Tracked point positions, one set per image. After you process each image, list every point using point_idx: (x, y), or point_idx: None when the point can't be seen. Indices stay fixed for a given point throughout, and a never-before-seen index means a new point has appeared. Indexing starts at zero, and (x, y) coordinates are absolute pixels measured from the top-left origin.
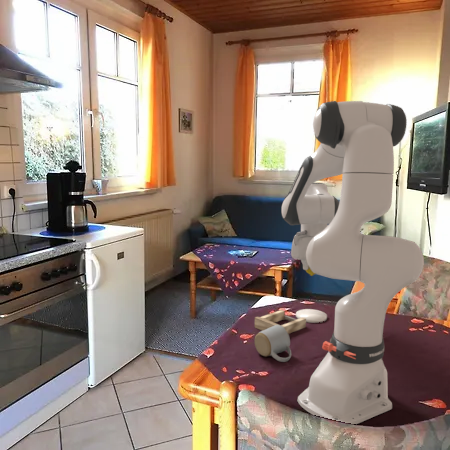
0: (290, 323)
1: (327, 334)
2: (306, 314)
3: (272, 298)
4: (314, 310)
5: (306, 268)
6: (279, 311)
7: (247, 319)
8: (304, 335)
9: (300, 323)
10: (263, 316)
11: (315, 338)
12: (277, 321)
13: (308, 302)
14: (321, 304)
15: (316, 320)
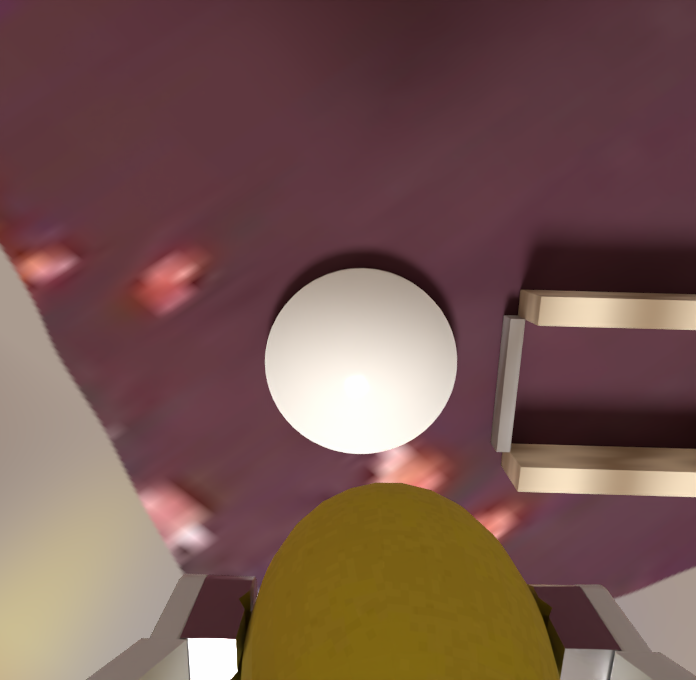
0: (685, 312)
1: (528, 130)
2: (384, 384)
3: None
4: (287, 392)
5: (610, 606)
6: (548, 482)
7: (645, 564)
8: (634, 218)
9: (588, 296)
10: (690, 491)
11: (631, 145)
12: (562, 445)
13: (166, 513)
14: (129, 444)
15: (418, 288)
